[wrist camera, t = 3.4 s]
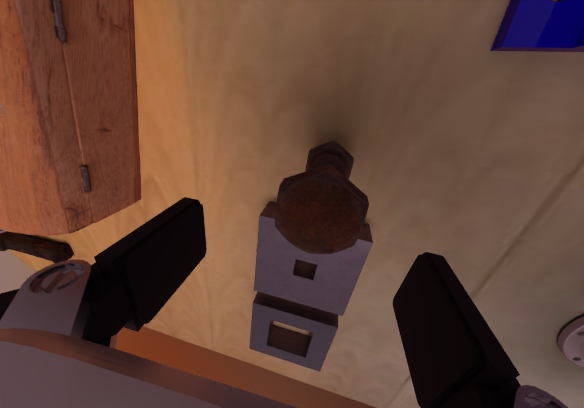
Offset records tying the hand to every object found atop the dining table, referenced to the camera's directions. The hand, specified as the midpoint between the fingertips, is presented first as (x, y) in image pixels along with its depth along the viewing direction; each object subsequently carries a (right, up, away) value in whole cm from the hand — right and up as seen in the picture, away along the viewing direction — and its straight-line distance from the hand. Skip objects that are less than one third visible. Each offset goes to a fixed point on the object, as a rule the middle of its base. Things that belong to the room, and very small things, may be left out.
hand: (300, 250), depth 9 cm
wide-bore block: (0, -20, +31) cm, 37 cm away
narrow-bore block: (+2, -5, +23) cm, 24 cm away
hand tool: (-58, -6, +39) cm, 70 cm away
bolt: (+4, +8, +16) cm, 18 cm away
